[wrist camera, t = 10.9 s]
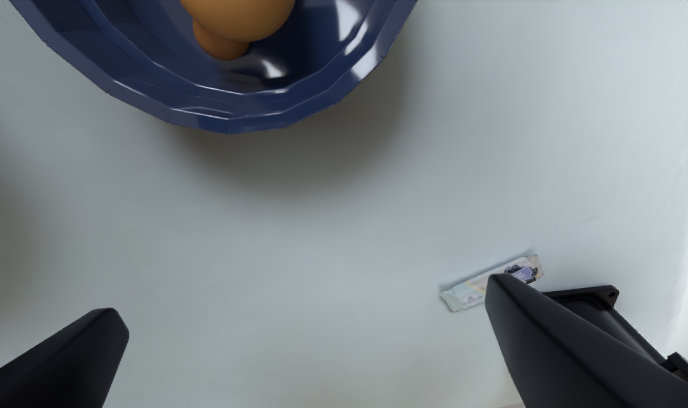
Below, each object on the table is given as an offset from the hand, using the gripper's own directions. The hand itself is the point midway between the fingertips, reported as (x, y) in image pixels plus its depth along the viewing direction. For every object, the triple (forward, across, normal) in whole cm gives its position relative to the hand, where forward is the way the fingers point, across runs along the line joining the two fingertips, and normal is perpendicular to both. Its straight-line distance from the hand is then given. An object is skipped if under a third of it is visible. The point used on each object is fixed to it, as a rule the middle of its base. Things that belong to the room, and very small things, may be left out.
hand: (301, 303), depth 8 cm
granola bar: (+11, -10, +10) cm, 19 cm away
